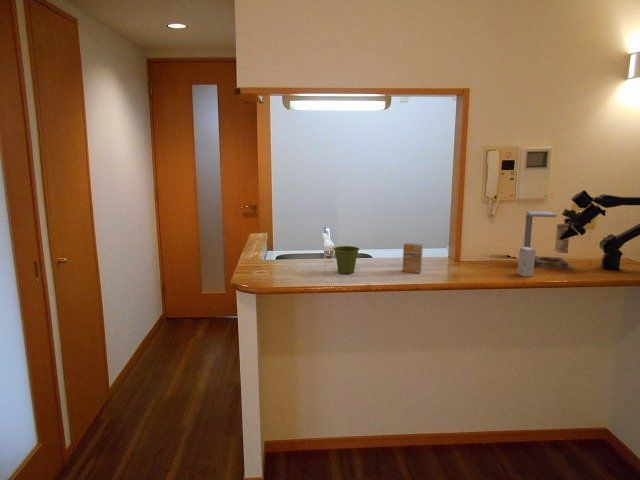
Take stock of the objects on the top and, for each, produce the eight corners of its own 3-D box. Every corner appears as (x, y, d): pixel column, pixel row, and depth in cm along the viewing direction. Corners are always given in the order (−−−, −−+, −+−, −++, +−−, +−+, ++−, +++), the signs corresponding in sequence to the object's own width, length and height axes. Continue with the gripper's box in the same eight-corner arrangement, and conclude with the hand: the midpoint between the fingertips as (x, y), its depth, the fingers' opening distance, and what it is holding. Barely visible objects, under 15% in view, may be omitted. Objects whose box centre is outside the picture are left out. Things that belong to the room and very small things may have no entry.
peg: (565, 250, 218) (567, 224, 215) (567, 252, 213) (570, 225, 211) (555, 250, 219) (557, 224, 217) (557, 252, 215) (559, 225, 212)
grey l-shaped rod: (546, 261, 225) (551, 211, 220) (551, 267, 214) (556, 214, 209) (521, 260, 228) (524, 210, 224) (524, 266, 217) (528, 213, 212)
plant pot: (329, 274, 204) (329, 250, 202) (338, 268, 215) (338, 245, 213) (354, 277, 200) (354, 252, 198) (362, 270, 211) (362, 247, 208)
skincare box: (516, 273, 204) (518, 247, 202) (525, 272, 205) (527, 246, 203) (524, 276, 198) (526, 249, 196) (533, 276, 199) (536, 249, 197)
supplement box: (402, 272, 207) (403, 244, 205) (404, 269, 212) (404, 242, 209) (420, 273, 204) (421, 245, 202) (421, 271, 209) (422, 243, 206)
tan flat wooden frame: (565, 261, 225) (566, 257, 224) (573, 269, 209) (574, 264, 209) (526, 259, 229) (526, 255, 229) (531, 267, 214) (532, 262, 214)
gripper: (569, 201, 220) (543, 223, 225) (579, 205, 202) (550, 229, 207) (586, 217, 219) (559, 239, 224) (598, 223, 201) (568, 246, 206)
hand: (559, 238), depth 215 cm, fingers closed on peg, 4 cm apart
